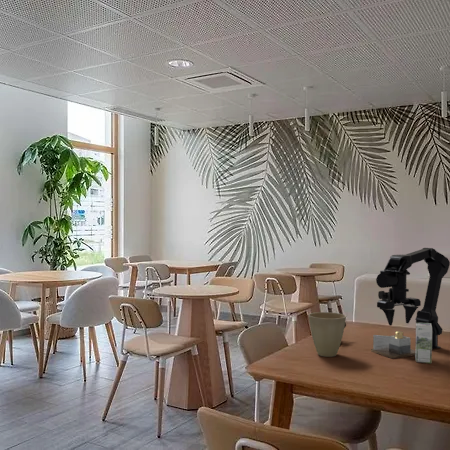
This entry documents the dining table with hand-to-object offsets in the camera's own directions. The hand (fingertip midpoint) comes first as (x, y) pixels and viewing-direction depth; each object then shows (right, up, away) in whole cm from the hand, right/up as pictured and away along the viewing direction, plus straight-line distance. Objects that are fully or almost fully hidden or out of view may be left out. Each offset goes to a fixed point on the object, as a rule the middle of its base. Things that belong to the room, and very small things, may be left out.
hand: (398, 324), depth 207 cm
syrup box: (+6, -12, -11) cm, 18 cm away
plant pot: (-30, -12, -2) cm, 32 cm away
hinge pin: (0, -11, -1) cm, 11 cm away
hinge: (-1, -12, +1) cm, 12 cm away
